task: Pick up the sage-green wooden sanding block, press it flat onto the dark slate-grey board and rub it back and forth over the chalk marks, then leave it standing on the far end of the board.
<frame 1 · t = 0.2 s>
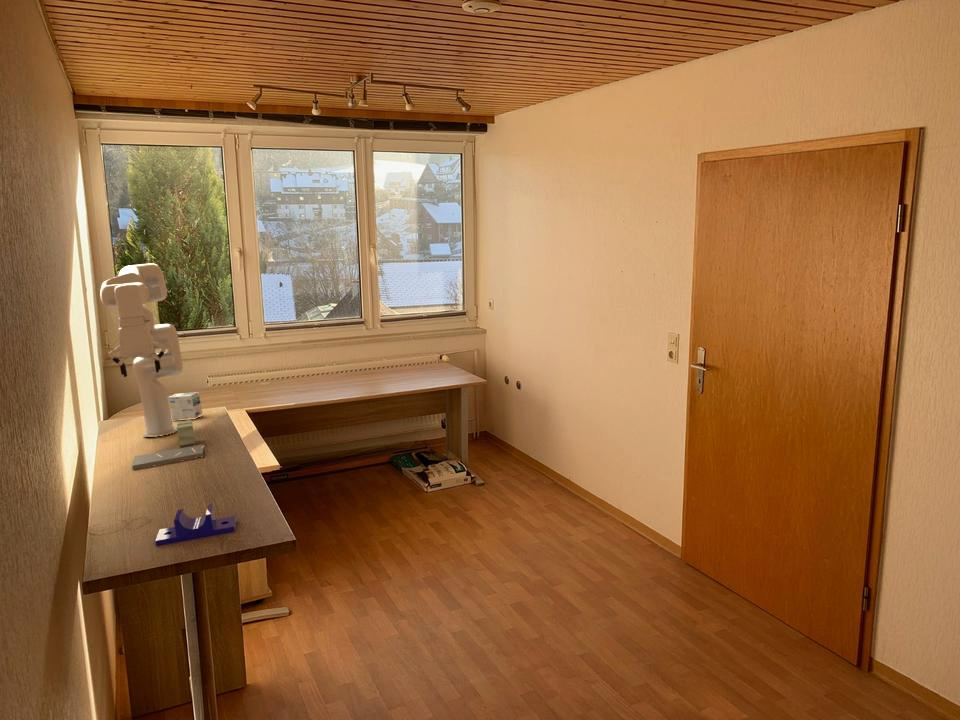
hand: (141, 374, 233), 31 cm above the table, tool pointing down, fingers open, 9 cm apart
sanding block: (188, 445, 259), on the table
board: (169, 458, 243), on the table
light bulb box: (187, 419, 301), on the table
mounting bracket: (197, 535, 176), on the table
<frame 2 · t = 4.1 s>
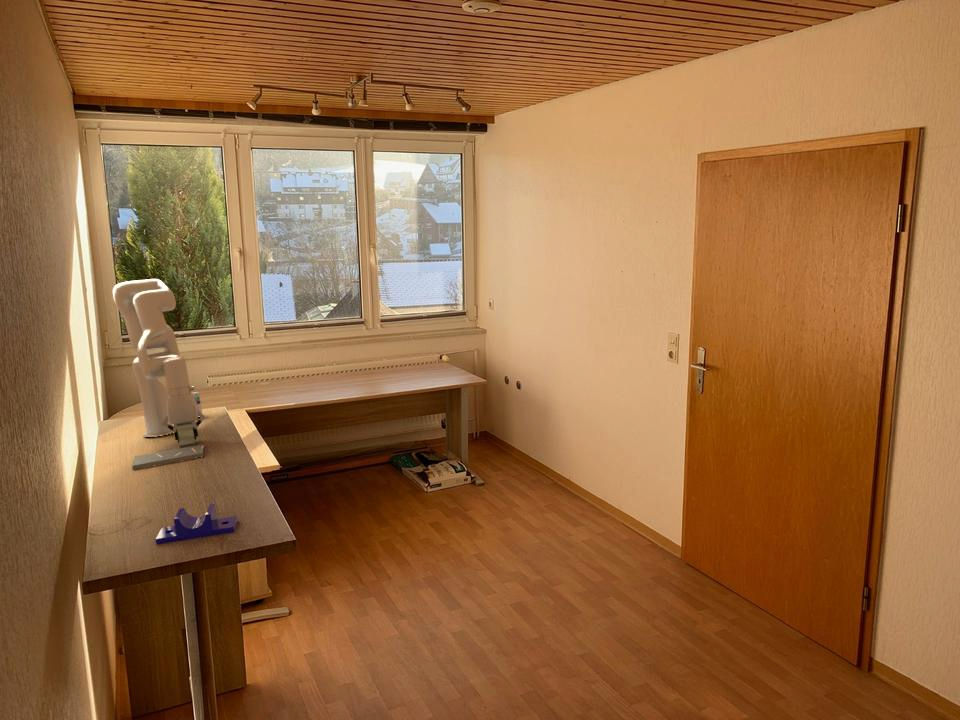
hand: (187, 439, 259), 2 cm above the table, tool pointing down, fingers closed on sanding block, 5 cm apart
sanding block: (188, 445, 259), on the table, touching gripper
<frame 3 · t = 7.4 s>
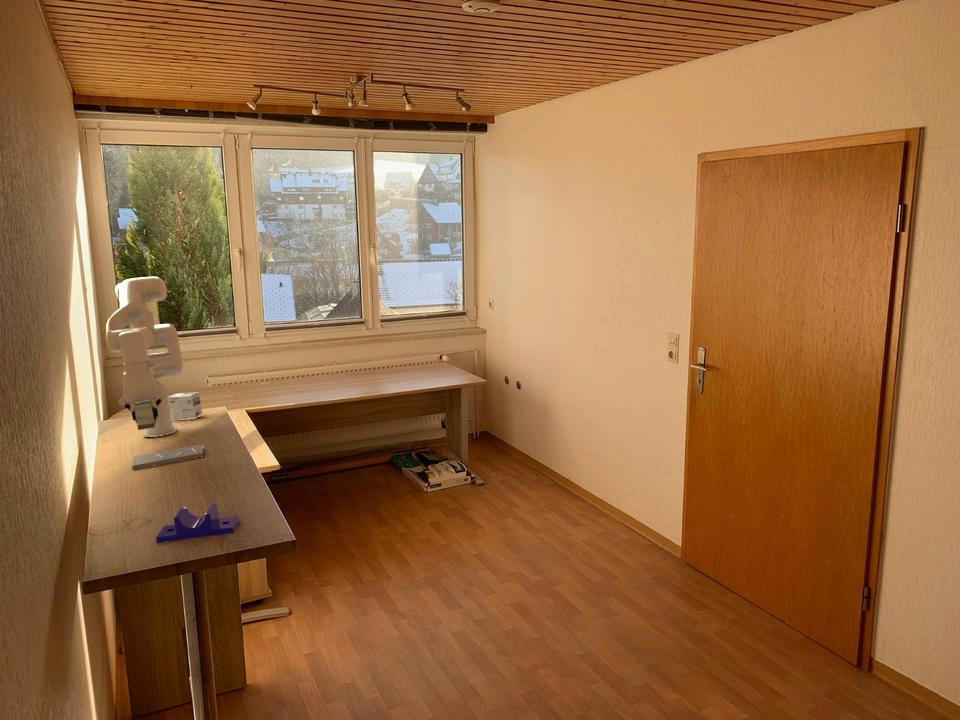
hand: (146, 420, 239), 15 cm above the table, tool pointing down, fingers closed on sanding block, 5 cm apart
sanding block: (147, 425, 239), point 13 cm above the table, touching gripper
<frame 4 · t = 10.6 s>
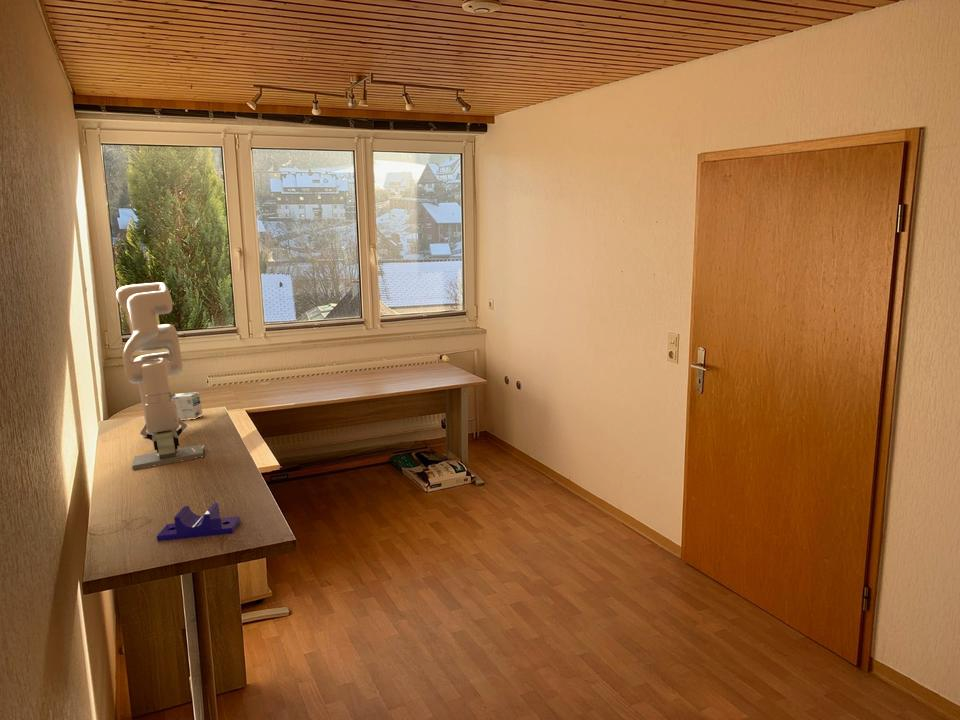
hand: (167, 449, 242), 3 cm above the table, tool pointing down, fingers closed on sanding block, 5 cm apart
sanding block: (168, 454, 243), point 2 cm above the table, touching gripper
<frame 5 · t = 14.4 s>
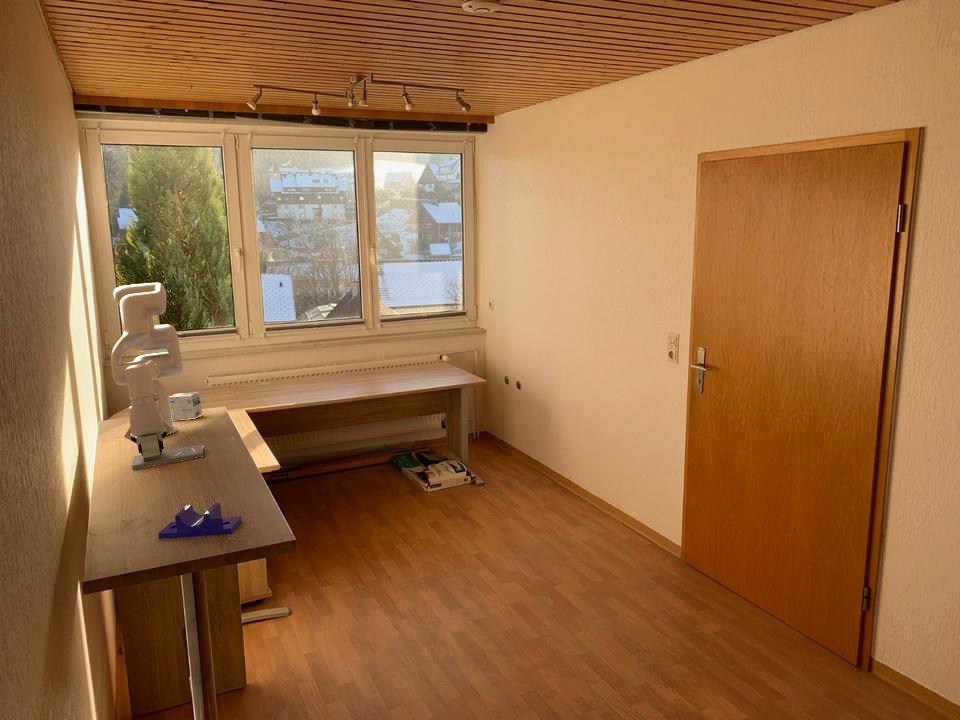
hand: (152, 452, 241), 3 cm above the table, tool pointing down, fingers closed on sanding block, 5 cm apart
sanding block: (152, 457, 241), point 2 cm above the table, touching gripper
when the fingers open (4 cm above the table, at t = 17.5 s): sanding block drops 1 cm, resting on board.
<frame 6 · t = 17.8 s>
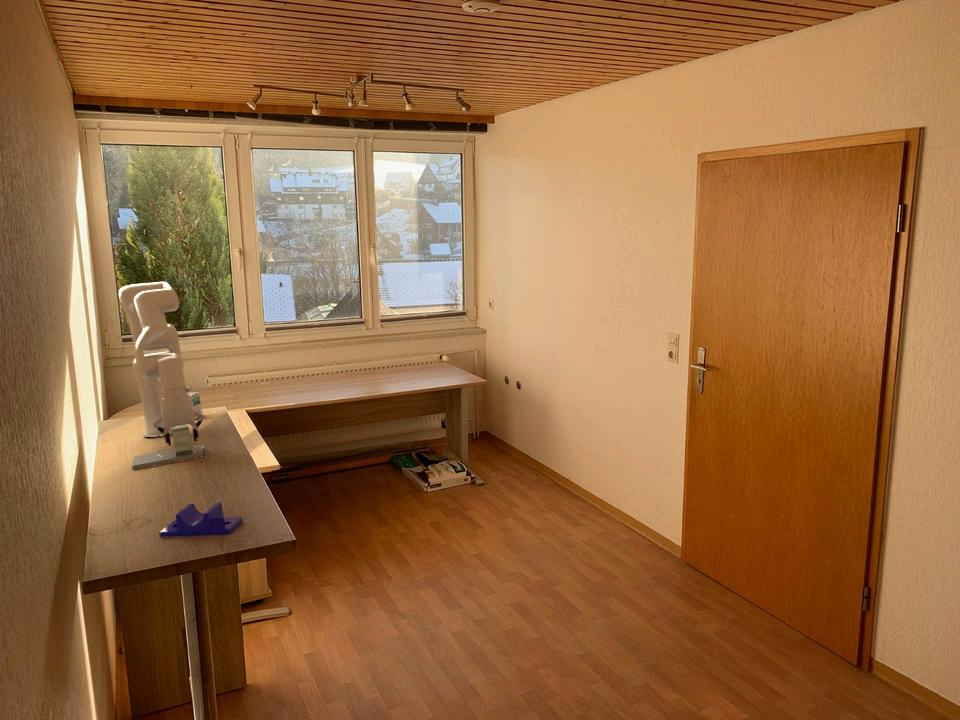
hand: (182, 442, 244), 5 cm above the table, tool pointing down, fingers open, 7 cm apart
sanding block: (184, 451, 245), point 2 cm above the table, touching board
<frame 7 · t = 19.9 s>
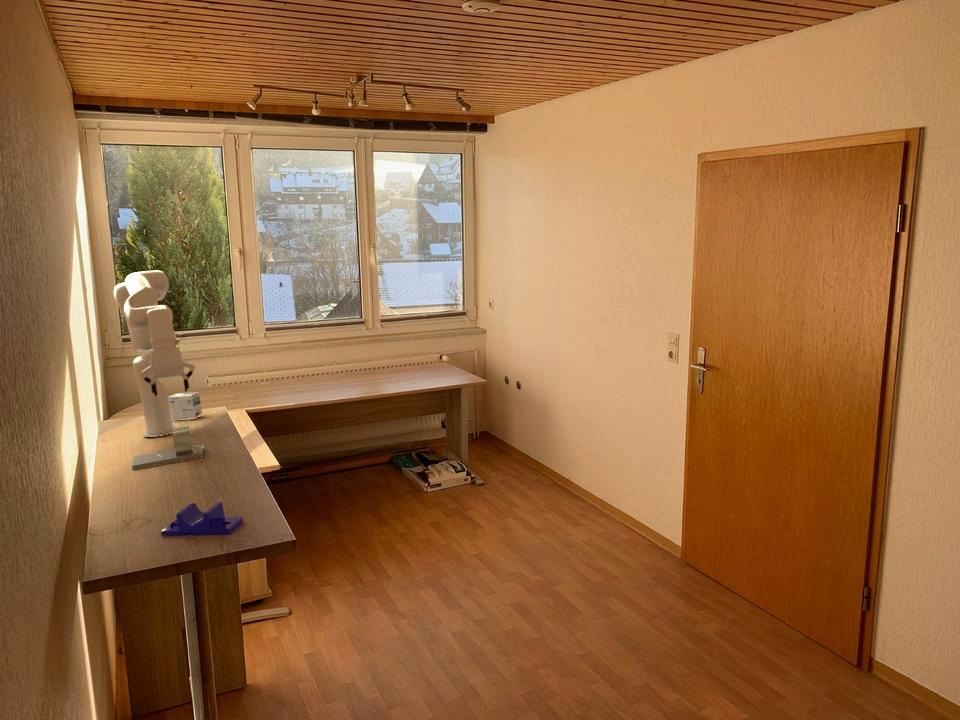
hand: (171, 392, 245), 22 cm above the table, tool pointing down, fingers open, 9 cm apart
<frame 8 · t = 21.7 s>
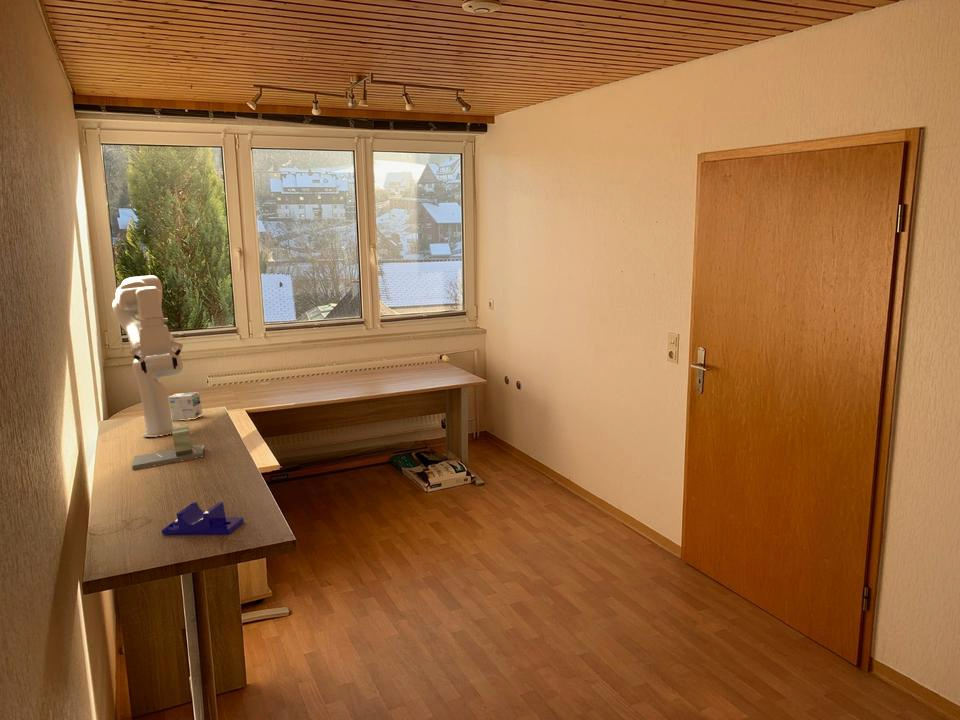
hand: (160, 370, 253), 28 cm above the table, tool pointing down, fingers open, 9 cm apart
at the end: sanding block inside the target area on the board (2.0 cm from its centre), point 1.5 cm above the board's base; sanding block tilted 0°; the gripper is holding nothing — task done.
